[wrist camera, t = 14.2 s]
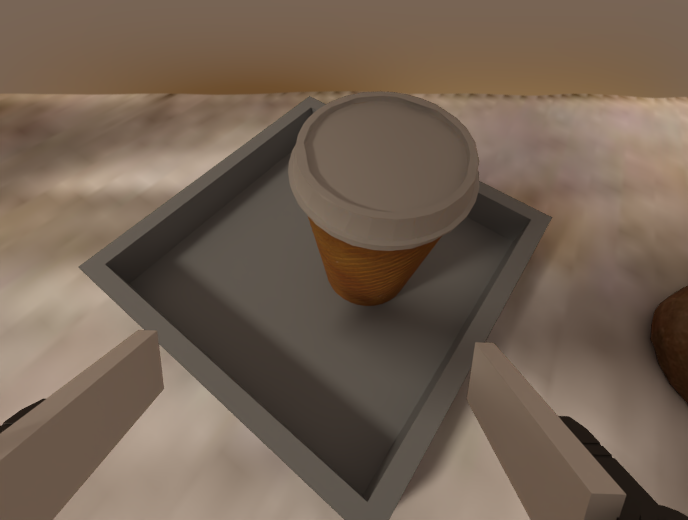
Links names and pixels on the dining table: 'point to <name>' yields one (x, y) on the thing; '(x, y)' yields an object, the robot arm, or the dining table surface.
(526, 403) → the robot arm
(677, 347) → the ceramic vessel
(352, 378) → the grey tray
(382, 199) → the disposable coffee cup
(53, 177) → the dining table surface
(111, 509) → the dining table surface
